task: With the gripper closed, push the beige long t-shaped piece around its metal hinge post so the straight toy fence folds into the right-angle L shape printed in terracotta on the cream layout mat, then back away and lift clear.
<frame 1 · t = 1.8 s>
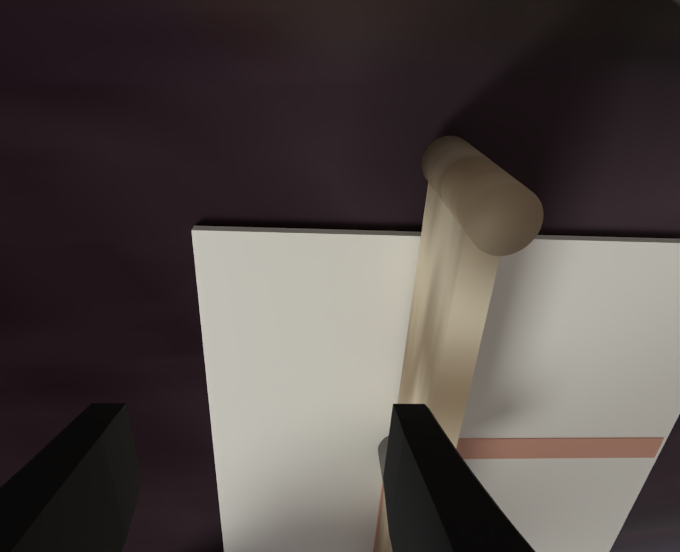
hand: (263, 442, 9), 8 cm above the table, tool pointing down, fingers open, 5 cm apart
beige long t-shaped piece: (441, 350, 15), point 3 cm above the table, hinge at 0.0°
fixed fence section: (399, 441, 21), resting on layout mat
layout mat: (443, 441, 21), on the table
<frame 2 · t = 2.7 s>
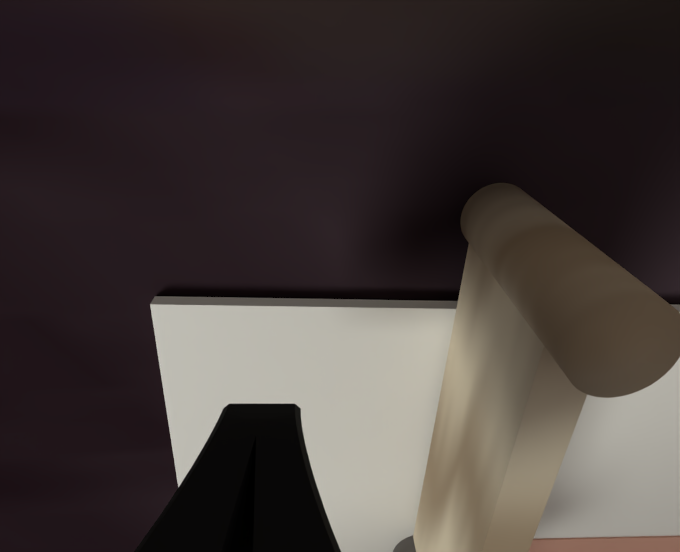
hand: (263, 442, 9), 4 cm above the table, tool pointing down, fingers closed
beige long t-shaped piece: (487, 471, 11), point 3 cm above the table, hinge at 0.0°
fixed fence section: (418, 540, 17), resting on layout mat
layout mat: (473, 539, 17), on the table
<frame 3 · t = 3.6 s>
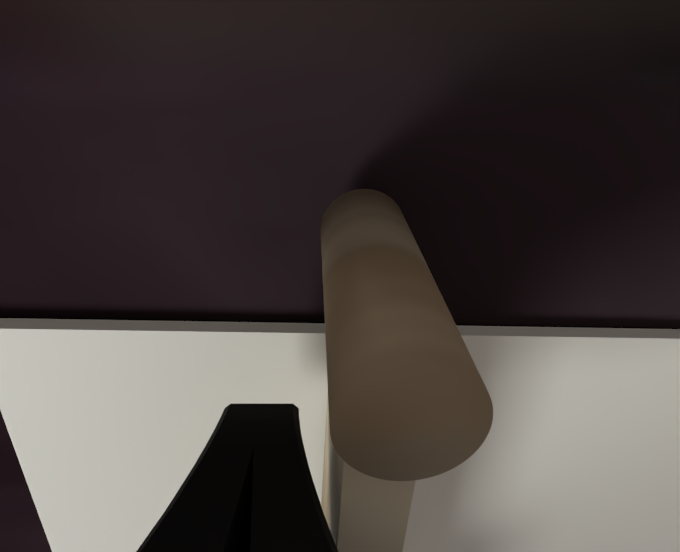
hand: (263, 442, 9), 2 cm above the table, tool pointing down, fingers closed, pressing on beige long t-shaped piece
beige long t-shaped piece: (354, 528, 9), point 3 cm above the table, hinge at 0.0°, touching gripper
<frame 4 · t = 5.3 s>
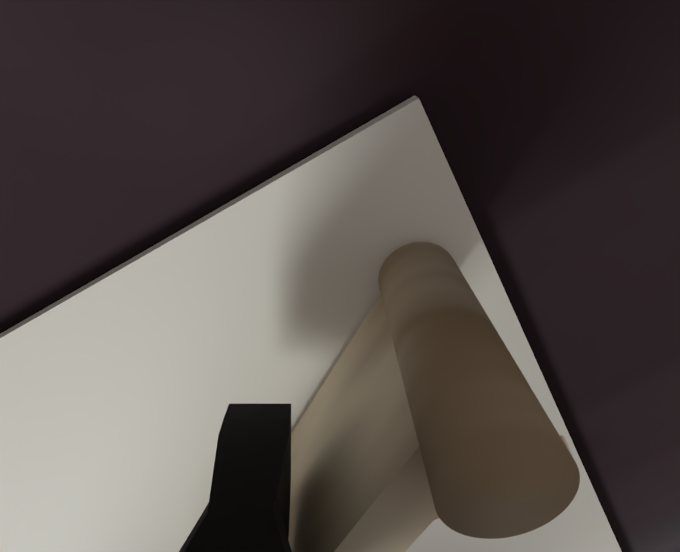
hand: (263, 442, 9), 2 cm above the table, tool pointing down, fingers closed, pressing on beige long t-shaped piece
beige long t-shaped piece: (303, 546, 9), point 3 cm above the table, hinge at -56.6°, touching gripper
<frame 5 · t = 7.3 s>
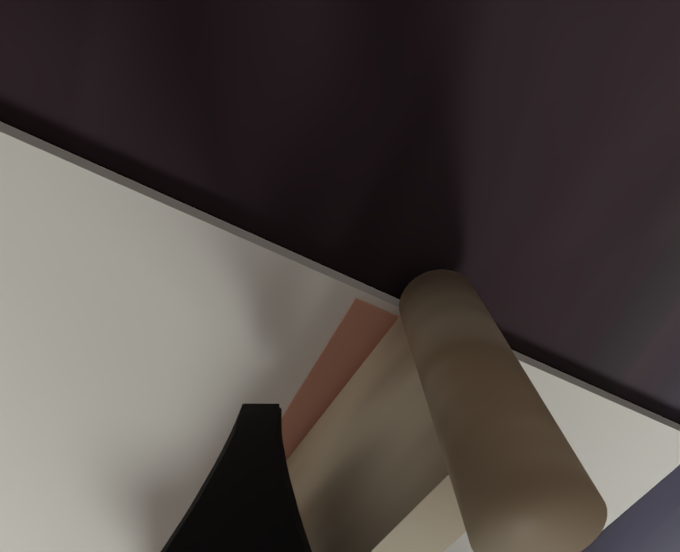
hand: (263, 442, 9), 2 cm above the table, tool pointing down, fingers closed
layout mat: (216, 549, 14), on the table
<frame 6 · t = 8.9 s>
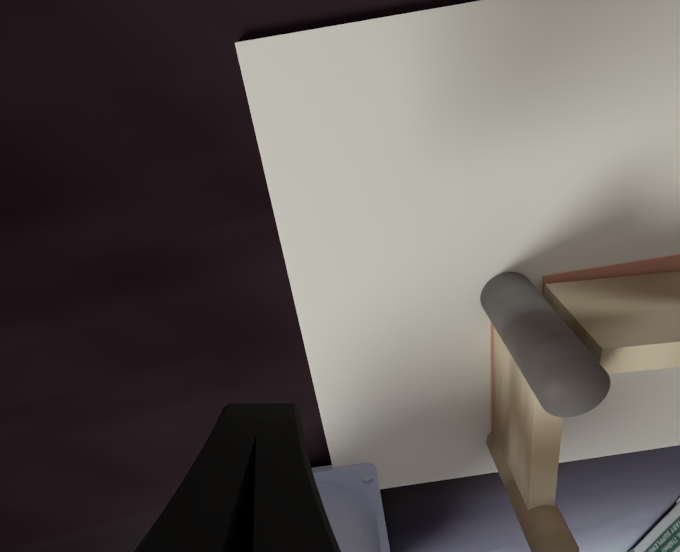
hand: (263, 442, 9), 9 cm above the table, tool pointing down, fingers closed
fixed fence section: (502, 289, 19), resting on layout mat
layout mat: (553, 281, 19), on the table
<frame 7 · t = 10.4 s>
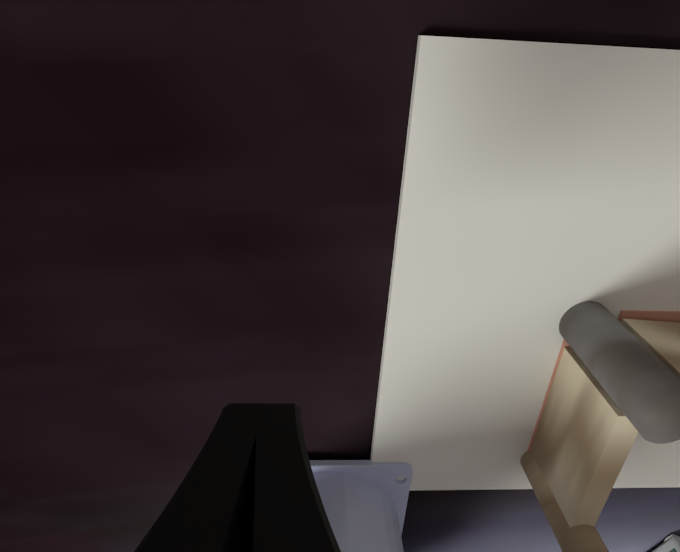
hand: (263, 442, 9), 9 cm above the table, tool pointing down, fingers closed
fixed fence section: (578, 316, 20), resting on layout mat
layout mat: (624, 317, 20), on the table
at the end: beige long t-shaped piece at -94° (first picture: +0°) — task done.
